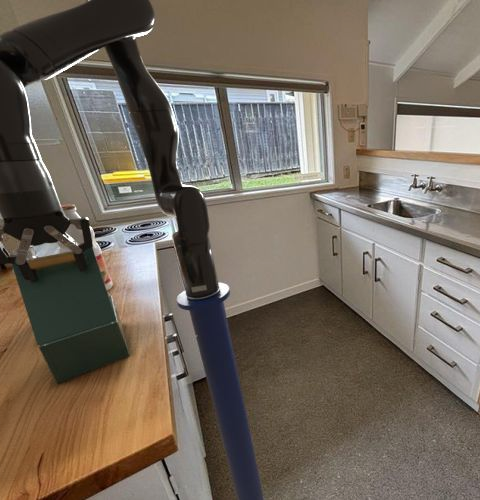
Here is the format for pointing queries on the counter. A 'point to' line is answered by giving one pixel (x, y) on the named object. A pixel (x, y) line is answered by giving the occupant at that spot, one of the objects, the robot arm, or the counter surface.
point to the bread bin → (86, 350)
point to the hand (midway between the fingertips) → (59, 275)
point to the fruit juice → (78, 238)
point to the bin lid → (64, 296)
